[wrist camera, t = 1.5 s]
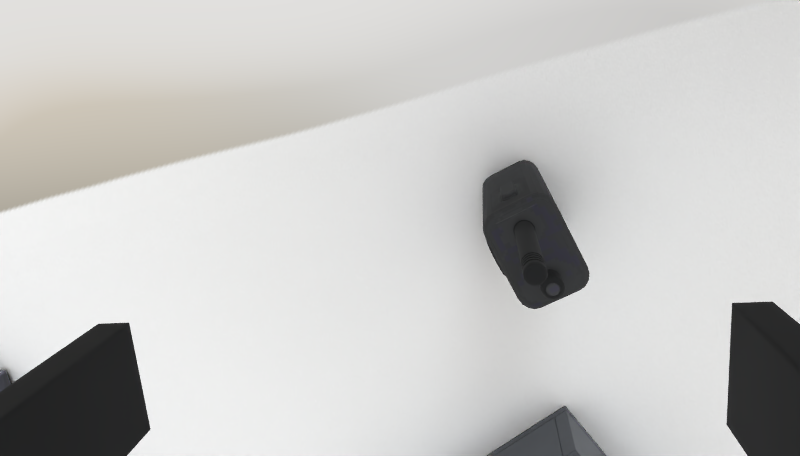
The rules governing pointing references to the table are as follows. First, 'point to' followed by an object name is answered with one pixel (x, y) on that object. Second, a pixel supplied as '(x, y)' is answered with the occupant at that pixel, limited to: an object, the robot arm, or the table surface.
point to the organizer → (552, 439)
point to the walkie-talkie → (530, 237)
